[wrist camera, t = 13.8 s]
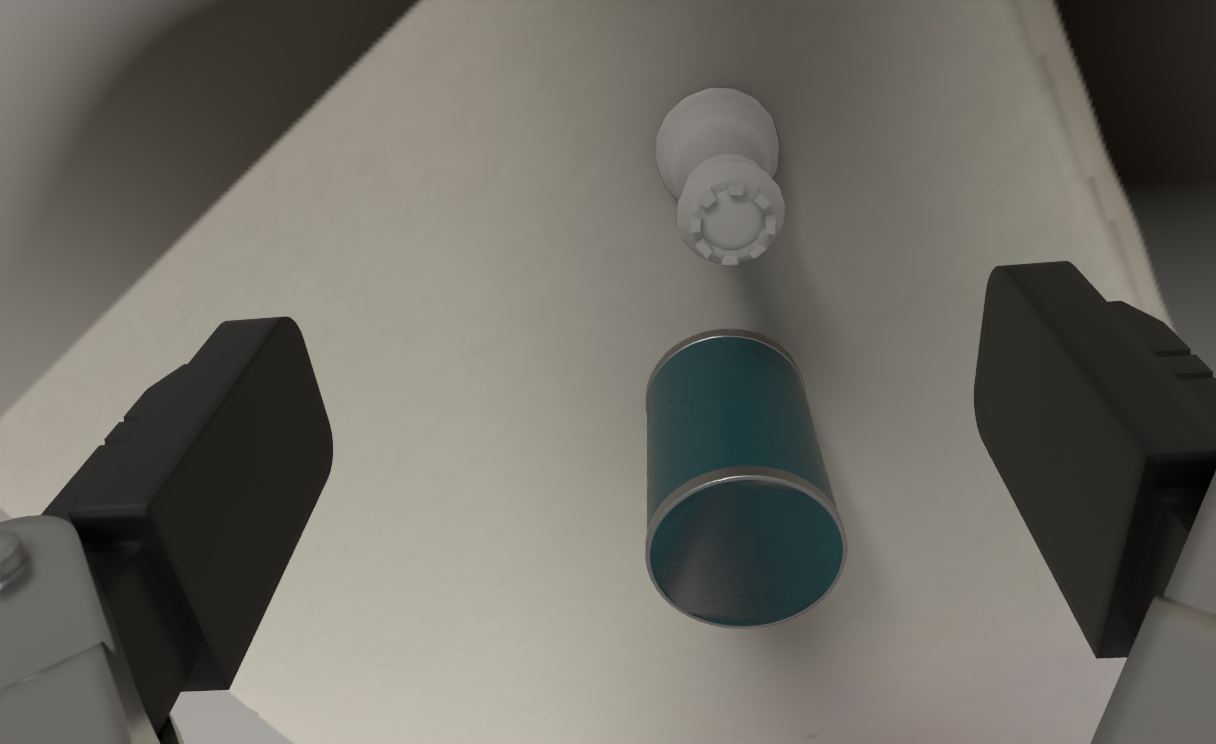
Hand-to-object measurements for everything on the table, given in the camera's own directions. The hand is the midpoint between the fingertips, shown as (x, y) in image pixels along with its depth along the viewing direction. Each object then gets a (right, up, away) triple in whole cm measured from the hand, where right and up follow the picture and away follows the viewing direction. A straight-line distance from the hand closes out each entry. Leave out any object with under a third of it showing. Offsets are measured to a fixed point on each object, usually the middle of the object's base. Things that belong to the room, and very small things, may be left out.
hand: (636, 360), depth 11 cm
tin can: (+5, -1, +29) cm, 29 cm away
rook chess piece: (+4, +8, +23) cm, 25 cm away
